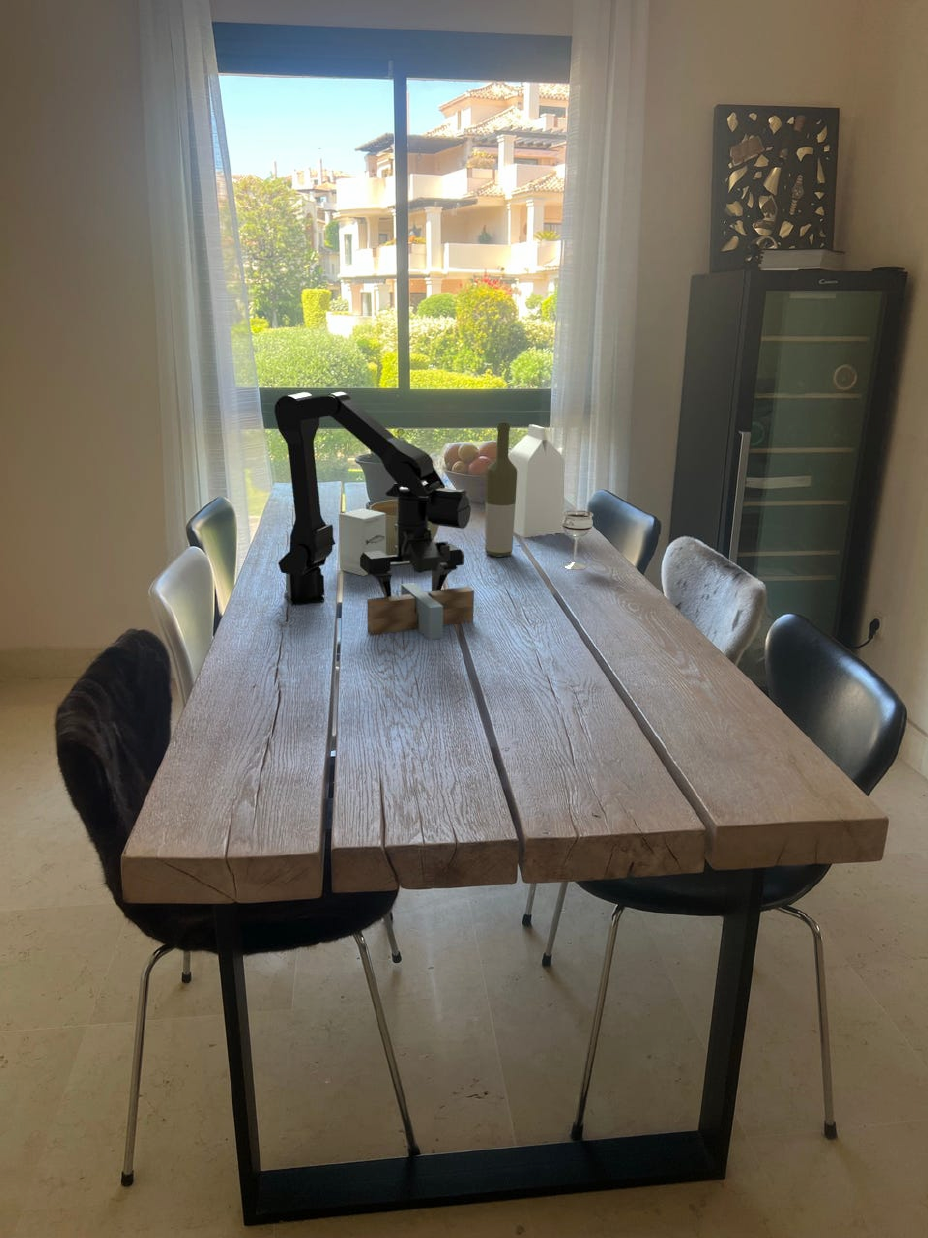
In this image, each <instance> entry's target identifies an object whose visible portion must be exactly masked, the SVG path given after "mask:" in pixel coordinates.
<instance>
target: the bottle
mask: <svg viewBox="0 0 928 1238" xmlns="http://www.w3.org/2000/svg"><path fill="white" fill-rule="evenodd" d="M510 425H511V424H510V423H508V422H498V423H497V426H496V427H497V428H496V431H497V434H496V435H497V438H496V457H495V459H494V460H493V461H492V462H491V463H490V464H489V466H488V467H487V468H486V471H485V529H484V530H485V532H484V533H485V535H484V536H485V538H484V539H485V540H484V541H485V542H484V543H485V544H484V545H485V546H484V550H485V553H486V555H489V556H492V557H497V558H503V557H508V556H510V555H512V553H513V549H514V520H515V505H516V489H517V469H516V467H515V466H514V465H513V464H512V462H511V461H510V460H509V457H508V454H509V449H510V448H509V446H510V445H509V443H510V430H511V429H510V428H511V427H510Z"/></svg>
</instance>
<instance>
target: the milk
mask: <svg viewBox="0 0 928 1238" xmlns="http://www.w3.org/2000/svg"><path fill="white" fill-rule="evenodd" d="M547 435H548V434H547V430H546V427H543V426H540V425H536V424H532V423H531V424H528V428H527V430H526V435H525V436H524V437H522V439H521V440H520V441H519V442H518V443H517V444H515V446H514V447H513V448H511V449H510V451H508V457H509V460H510V461H511V462H512V464H513V465H514V466H515V467H516V469H517V489H516V505H515V520H514V533H515V534H517V535H518V536H520V537H521V538H531V536H533V537H539V536H538V535H542V536H547V535H546V534H552V535H556V534H555V533H561V534H564V533H565V530H564V529H563V526H562V520H563V518H564V514H563V512H565V469H566V468H565V460H564V457H563V455H562V454H561V453H560V452H559V451H558V450H557V448H555V446H554V444H553V442H551V441H550V440H549V439H548V436H547ZM553 533H554V534H553Z"/></svg>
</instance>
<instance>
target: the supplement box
mask: <svg viewBox="0 0 928 1238" xmlns="http://www.w3.org/2000/svg"><path fill="white" fill-rule="evenodd" d="M338 536H339V538H338V540H339V541H338V542H339V570H341V571H344V572H347V573H351V574H355V575H357V576H361V577H365V576H367V575H369V574H368V573H367V572H366V571H365V570H363V569H362V568H361V567H360V557H361V555H362V554H363V552H372V551H382V552H383V553H384V554H385V555H386V513H382V512H378V511H373V510H370V509H367V508H357V509H354V510H350V511H346V512H341V513H338Z"/></svg>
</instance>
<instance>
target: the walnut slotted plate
mask: <svg viewBox="0 0 928 1238" xmlns="http://www.w3.org/2000/svg"><path fill="white" fill-rule="evenodd" d="M427 594H428V595H429V596H431V597H432V598H433V599H434V600H436V601H437V602H438V603H439V604H441V605H442V606H443V626H445V625H453V624H459V623H460V624H461V623H467V621H469V622H473V621H474V610H475V609H474V604H475V603H474V601H475V590H474V589H473V588H472V587H470V586H462V587H455V588H453V587H452V588H445V589H441V590H437V591H432V590H430V591H427ZM366 603H367V604H366V606H367V608H366V609H367V631H368V633H370V635H372V636H375V635H383V634H389V633H397V632H402V631H403V632H404V631H409V630H419V614H418V613H416V612H415V598H414V597H413V596H412V595H410V594H405V595H401V594H399V595H391V596H389V597H384V596H381V597H374V598H367V602H366Z"/></svg>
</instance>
